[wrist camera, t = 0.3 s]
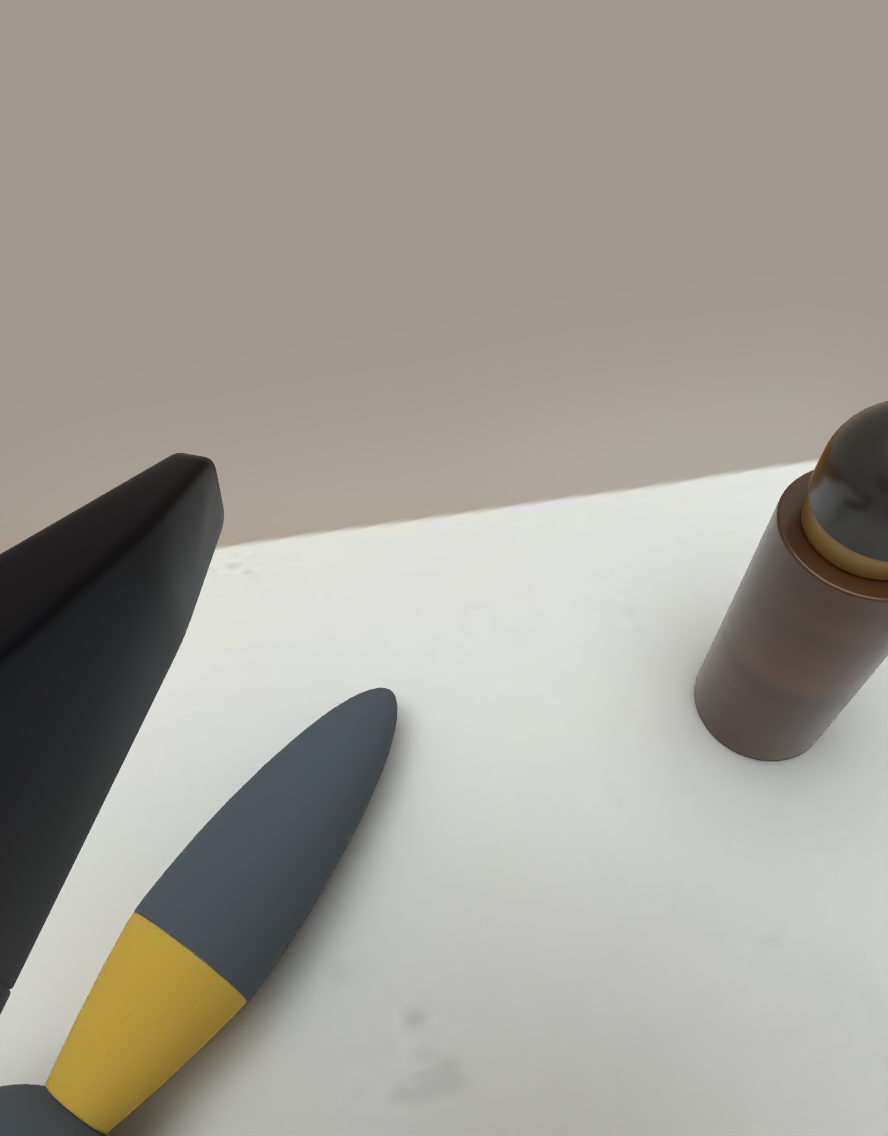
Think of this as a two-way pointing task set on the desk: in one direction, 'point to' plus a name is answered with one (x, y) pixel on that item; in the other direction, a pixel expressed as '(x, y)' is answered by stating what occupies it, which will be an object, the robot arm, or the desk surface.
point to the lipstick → (807, 604)
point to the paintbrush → (211, 925)
